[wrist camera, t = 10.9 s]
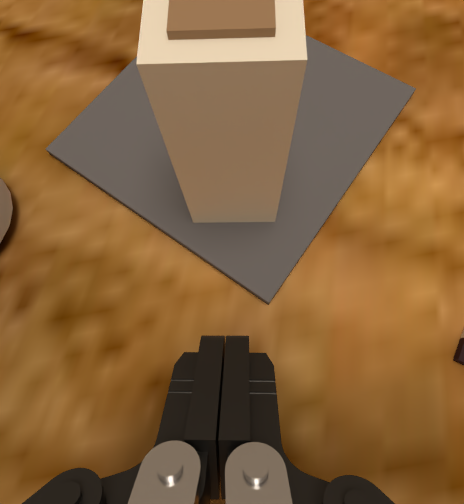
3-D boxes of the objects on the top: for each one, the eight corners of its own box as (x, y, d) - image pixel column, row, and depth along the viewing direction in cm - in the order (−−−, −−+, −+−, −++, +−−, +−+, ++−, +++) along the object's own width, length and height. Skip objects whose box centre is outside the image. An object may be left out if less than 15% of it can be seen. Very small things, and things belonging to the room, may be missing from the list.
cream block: (196, 152, 23) (147, -63, 12) (272, 151, 23) (299, -69, 12) (193, 222, 22) (133, 55, 10) (275, 221, 22) (308, 50, 10)
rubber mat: (206, -6, 29) (205, -14, 28) (412, 95, 25) (415, 88, 24) (50, 154, 25) (45, 149, 24) (268, 304, 21) (268, 302, 20)
